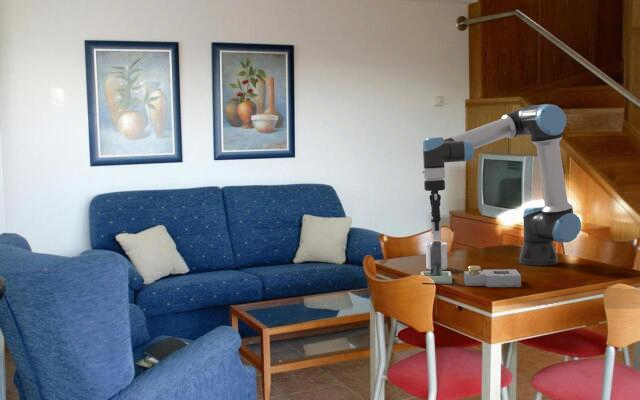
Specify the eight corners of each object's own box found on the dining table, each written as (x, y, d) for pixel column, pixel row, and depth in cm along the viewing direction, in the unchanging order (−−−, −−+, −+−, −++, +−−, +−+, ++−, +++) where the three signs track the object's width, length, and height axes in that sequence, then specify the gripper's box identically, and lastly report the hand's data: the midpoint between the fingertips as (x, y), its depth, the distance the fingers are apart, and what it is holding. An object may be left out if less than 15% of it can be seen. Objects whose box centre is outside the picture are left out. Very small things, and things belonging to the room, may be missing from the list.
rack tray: (450, 277, 288) (450, 271, 288) (452, 283, 277) (452, 276, 277) (421, 278, 289) (420, 271, 289) (421, 283, 278) (421, 277, 278)
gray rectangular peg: (441, 278, 285) (440, 240, 284) (441, 280, 281) (441, 242, 280) (430, 278, 285) (429, 241, 284) (430, 280, 281) (430, 242, 280)
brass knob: (480, 279, 277) (480, 265, 277) (481, 282, 273) (481, 267, 273) (467, 279, 278) (467, 265, 278) (468, 282, 274) (468, 267, 273)
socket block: (516, 280, 280) (516, 269, 279) (521, 286, 268) (520, 275, 268) (463, 280, 282) (463, 269, 282) (466, 287, 270) (465, 276, 270)
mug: (446, 272, 299) (445, 246, 298) (425, 272, 301) (424, 246, 300) (447, 267, 311) (447, 242, 310) (427, 266, 312) (426, 241, 312)
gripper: (423, 177, 293) (425, 232, 295) (425, 182, 268) (427, 242, 270) (443, 176, 292) (445, 231, 294) (446, 181, 267) (448, 241, 269)
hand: (436, 236), depth 282 cm, fingers open, 13 cm apart
